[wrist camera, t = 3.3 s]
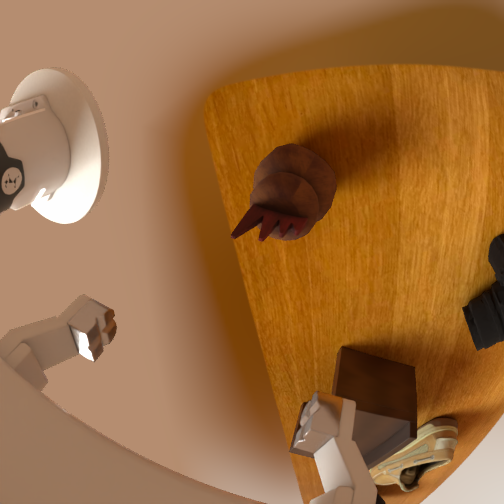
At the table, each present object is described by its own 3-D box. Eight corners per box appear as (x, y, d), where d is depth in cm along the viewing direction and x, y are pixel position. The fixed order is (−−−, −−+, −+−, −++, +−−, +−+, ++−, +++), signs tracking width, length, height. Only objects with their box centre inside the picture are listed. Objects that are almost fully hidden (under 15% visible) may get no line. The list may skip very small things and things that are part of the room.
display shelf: (300, 406, 50) (285, 464, 41) (341, 346, 40) (330, 421, 31) (361, 421, 49) (353, 479, 39) (414, 367, 39) (417, 438, 29)
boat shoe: (360, 466, 60) (354, 505, 51) (420, 412, 44) (419, 467, 35) (397, 469, 58) (393, 507, 49) (464, 416, 42) (468, 467, 33)
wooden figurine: (259, 174, 31) (194, 248, 19) (288, 127, 28) (235, 171, 16) (315, 210, 32) (287, 306, 20) (348, 166, 28) (344, 243, 16)
